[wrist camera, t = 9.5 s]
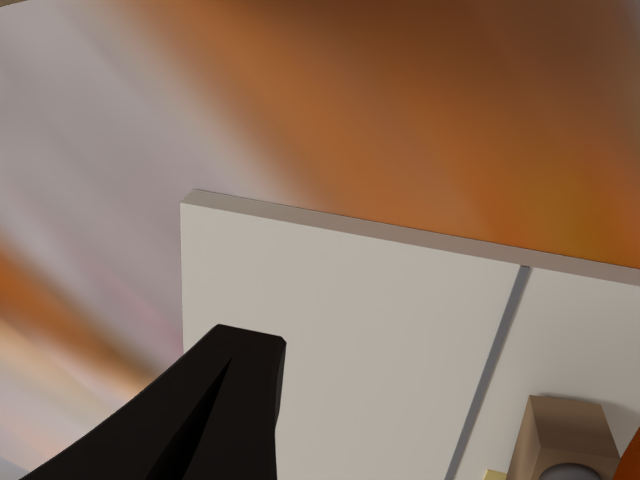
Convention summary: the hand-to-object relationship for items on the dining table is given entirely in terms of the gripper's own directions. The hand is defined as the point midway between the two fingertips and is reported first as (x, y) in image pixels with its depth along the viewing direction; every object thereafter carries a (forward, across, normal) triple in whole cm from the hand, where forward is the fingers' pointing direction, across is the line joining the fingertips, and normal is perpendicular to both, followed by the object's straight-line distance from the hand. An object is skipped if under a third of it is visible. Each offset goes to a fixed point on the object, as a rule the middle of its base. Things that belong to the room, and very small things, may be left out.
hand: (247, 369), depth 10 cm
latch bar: (+8, -10, +12) cm, 18 cm away
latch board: (+10, -4, +10) cm, 15 cm away
